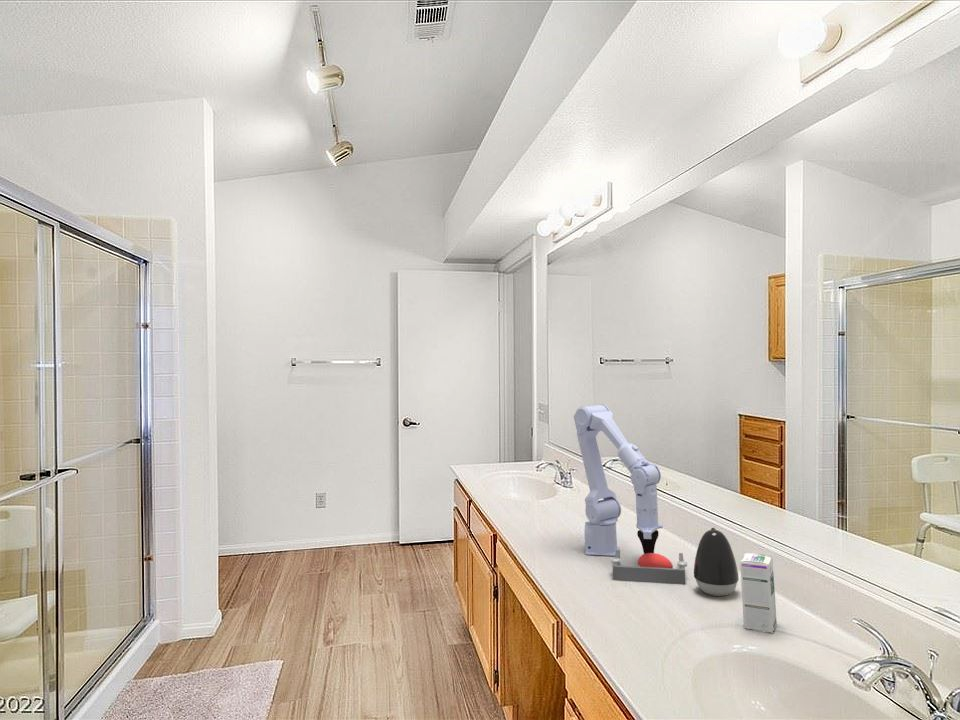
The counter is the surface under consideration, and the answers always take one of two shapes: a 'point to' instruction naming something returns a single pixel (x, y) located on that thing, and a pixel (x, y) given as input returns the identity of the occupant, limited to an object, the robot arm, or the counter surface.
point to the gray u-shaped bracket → (649, 572)
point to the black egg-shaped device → (715, 564)
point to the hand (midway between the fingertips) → (648, 557)
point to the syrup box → (758, 592)
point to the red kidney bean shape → (654, 561)
